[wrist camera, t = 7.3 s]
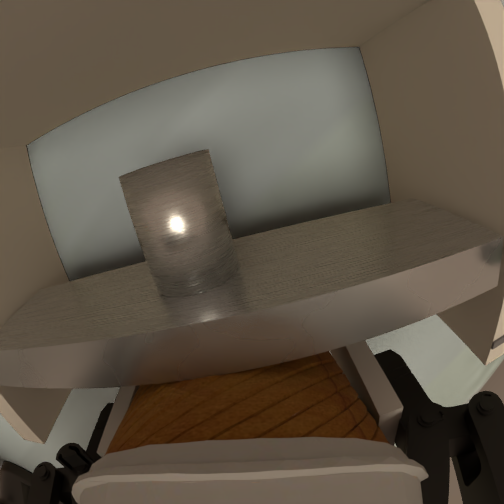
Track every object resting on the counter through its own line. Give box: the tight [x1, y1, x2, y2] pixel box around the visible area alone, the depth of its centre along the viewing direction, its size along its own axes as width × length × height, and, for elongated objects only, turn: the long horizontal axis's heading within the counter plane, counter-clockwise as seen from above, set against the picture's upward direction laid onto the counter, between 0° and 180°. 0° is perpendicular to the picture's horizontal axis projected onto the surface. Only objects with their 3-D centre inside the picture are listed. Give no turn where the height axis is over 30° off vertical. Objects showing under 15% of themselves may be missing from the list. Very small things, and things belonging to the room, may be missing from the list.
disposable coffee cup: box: [72, 351, 429, 504], centre depth 9 cm, size 10×10×12 cm
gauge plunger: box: [0, 149, 504, 388], centre depth 7 cm, size 18×5×6 cm, turn 103°
